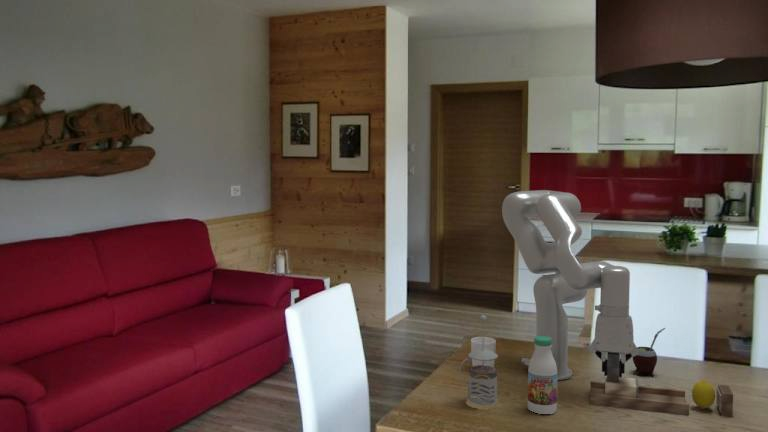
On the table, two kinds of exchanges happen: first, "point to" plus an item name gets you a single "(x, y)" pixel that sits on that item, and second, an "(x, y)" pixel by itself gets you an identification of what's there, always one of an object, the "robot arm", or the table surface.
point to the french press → (482, 370)
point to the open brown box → (724, 400)
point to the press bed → (642, 399)
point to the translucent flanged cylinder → (478, 344)
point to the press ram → (618, 379)
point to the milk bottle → (542, 378)
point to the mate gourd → (646, 359)
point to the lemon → (703, 394)
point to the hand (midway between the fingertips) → (613, 374)
